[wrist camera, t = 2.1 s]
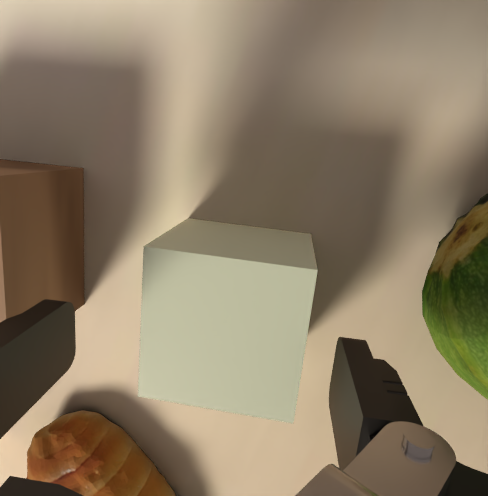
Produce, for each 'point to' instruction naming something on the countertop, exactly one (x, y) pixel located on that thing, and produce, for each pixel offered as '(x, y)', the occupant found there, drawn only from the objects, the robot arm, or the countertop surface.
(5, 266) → the walnut block
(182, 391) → the sage cube
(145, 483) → the pastry
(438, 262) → the vegetable
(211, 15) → the countertop surface
